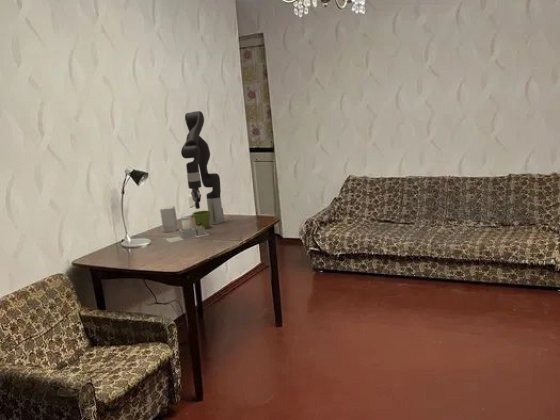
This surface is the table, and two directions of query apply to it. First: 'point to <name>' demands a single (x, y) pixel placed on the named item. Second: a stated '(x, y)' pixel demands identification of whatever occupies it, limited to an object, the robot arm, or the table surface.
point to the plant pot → (202, 217)
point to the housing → (189, 234)
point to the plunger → (199, 225)
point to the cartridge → (185, 223)
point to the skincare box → (169, 219)
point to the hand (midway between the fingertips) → (197, 208)
